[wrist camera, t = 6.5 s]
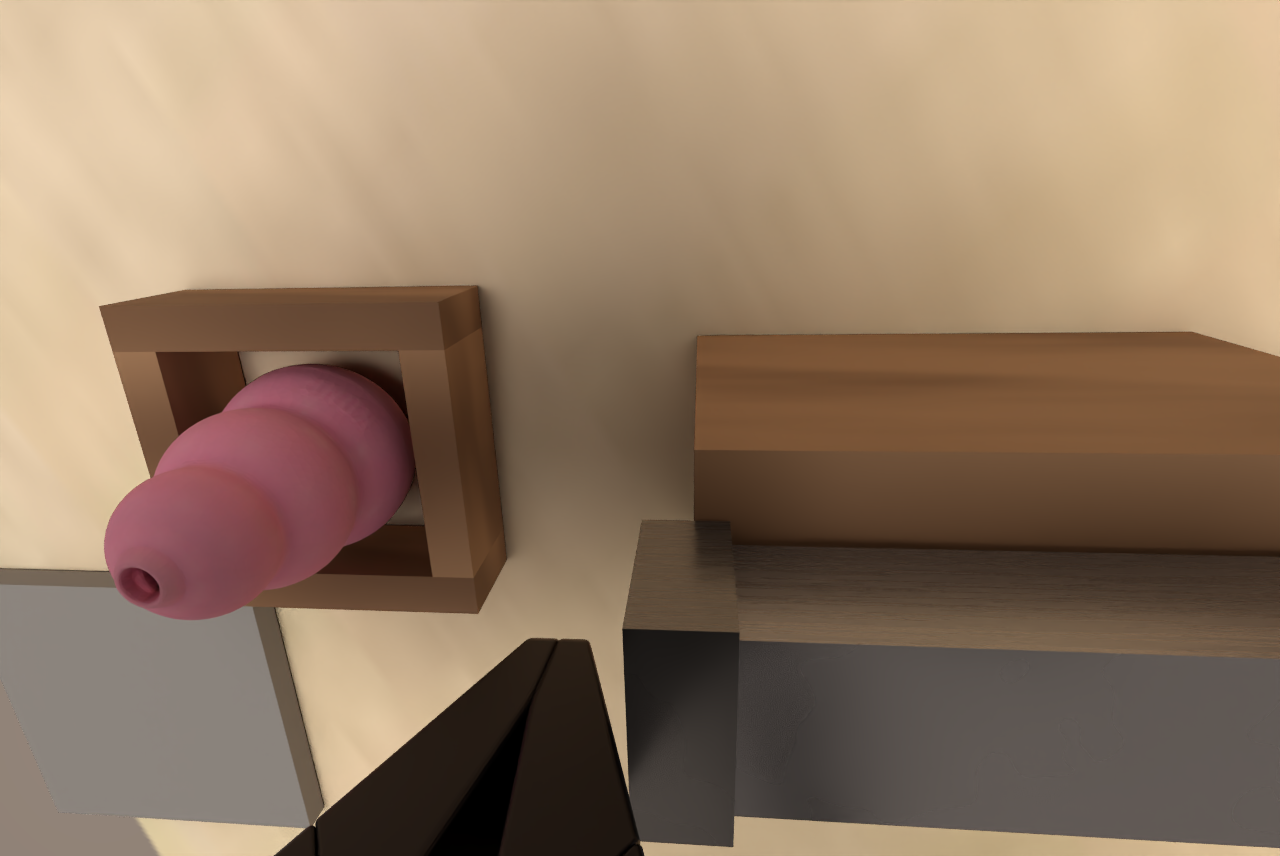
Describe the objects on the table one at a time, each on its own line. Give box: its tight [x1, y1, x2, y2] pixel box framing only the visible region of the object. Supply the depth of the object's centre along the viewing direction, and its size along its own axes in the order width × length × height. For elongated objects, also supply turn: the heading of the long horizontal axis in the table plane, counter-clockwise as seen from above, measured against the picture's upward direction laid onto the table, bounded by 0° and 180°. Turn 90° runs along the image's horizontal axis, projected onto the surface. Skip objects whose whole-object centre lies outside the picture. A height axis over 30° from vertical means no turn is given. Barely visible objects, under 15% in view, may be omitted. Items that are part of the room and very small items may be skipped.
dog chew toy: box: [104, 364, 415, 620], centre depth 14 cm, size 4×4×7 cm
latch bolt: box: [622, 520, 1280, 848], centre depth 8 cm, size 3×14×2 cm, turn 92°
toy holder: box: [99, 286, 1280, 614], centre depth 13 cm, size 8×24×7 cm, turn 91°
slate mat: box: [0, 569, 324, 828], centre depth 21 cm, size 9×9×1 cm
